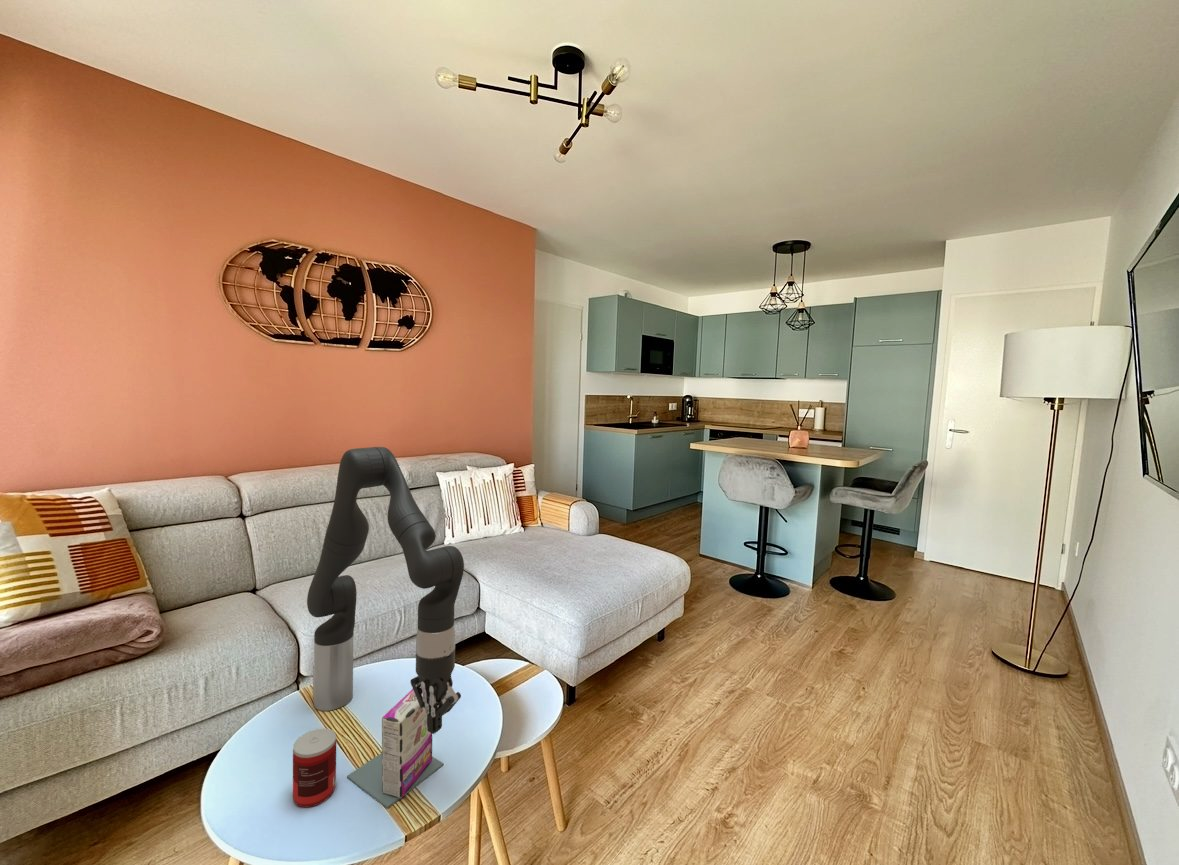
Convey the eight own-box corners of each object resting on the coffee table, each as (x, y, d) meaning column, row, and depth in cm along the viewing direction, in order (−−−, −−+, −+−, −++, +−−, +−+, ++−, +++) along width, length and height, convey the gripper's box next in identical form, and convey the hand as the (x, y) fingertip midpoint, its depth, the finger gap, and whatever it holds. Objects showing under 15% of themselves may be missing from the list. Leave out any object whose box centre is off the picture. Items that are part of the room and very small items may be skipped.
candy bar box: (413, 756, 107) (414, 685, 106) (432, 761, 106) (434, 689, 105) (379, 794, 96) (380, 716, 95) (400, 800, 95) (402, 721, 94)
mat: (346, 777, 101) (346, 775, 101) (403, 740, 113) (403, 738, 113) (387, 808, 93) (387, 806, 93) (443, 765, 105) (443, 763, 105)
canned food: (322, 772, 102) (322, 723, 101) (344, 788, 98) (344, 737, 97) (284, 796, 95) (284, 744, 95) (306, 815, 91) (306, 760, 91)
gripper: (398, 645, 95) (397, 728, 96) (443, 665, 88) (441, 755, 89) (429, 631, 102) (427, 709, 103) (473, 649, 95) (471, 733, 96)
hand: (434, 730), depth 96 cm, fingers closed
